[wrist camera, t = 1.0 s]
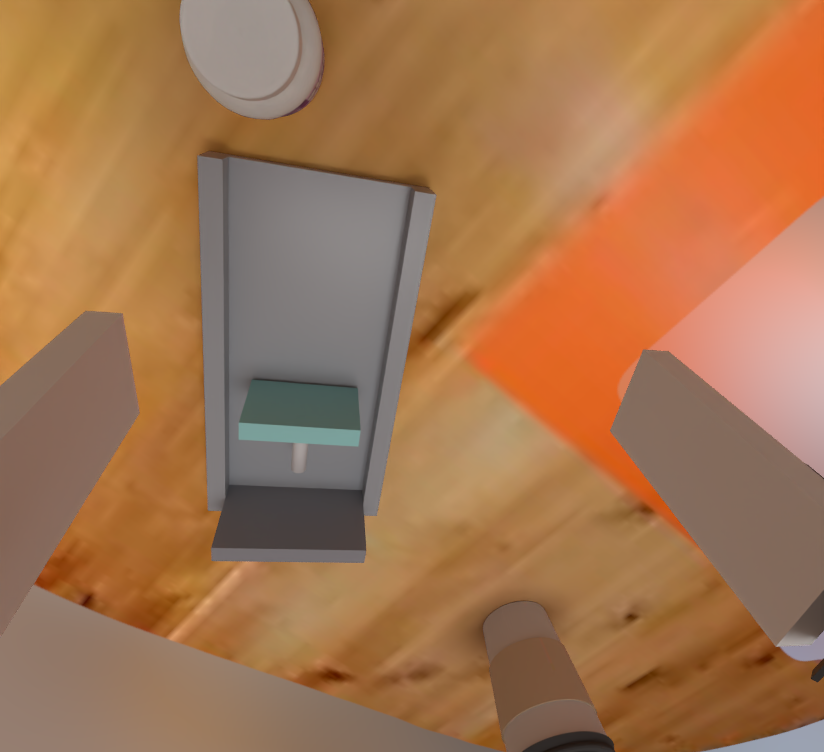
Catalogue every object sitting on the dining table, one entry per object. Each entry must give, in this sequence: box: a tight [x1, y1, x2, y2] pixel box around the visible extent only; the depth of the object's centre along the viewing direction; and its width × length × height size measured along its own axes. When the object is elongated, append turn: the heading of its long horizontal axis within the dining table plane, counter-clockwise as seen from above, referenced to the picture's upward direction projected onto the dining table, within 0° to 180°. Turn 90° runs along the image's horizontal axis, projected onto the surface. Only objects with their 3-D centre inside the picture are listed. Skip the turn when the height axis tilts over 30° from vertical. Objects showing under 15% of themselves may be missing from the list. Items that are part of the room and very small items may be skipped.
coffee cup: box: [483, 601, 615, 752], centre depth 45 cm, size 9×9×15 cm
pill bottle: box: [180, 0, 324, 119], centre depth 21 cm, size 5×5×10 cm
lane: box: [197, 151, 436, 563], centre depth 31 cm, size 24×12×7 cm, turn 170°
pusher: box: [239, 380, 361, 473], centre depth 32 cm, size 5×7×5 cm
